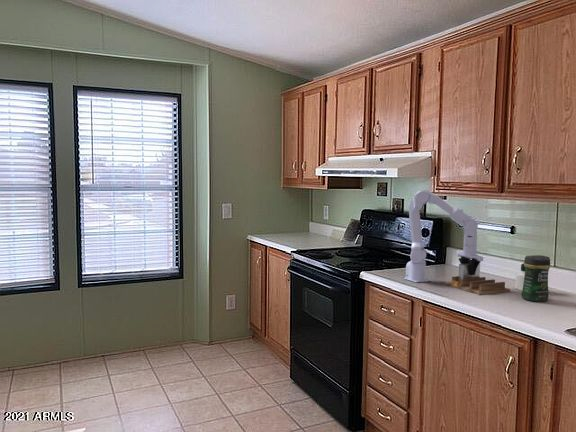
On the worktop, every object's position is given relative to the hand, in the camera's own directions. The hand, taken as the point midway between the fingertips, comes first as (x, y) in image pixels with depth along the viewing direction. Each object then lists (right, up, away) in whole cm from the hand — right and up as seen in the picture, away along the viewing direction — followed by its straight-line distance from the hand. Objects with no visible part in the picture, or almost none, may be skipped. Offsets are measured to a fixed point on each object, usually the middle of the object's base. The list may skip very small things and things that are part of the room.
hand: (468, 274), depth 225 cm
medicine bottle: (+24, -7, -7) cm, 25 cm away
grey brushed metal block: (0, -4, 0) cm, 4 cm away
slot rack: (+2, -6, -5) cm, 8 cm away
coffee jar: (+18, -8, -25) cm, 32 cm away
